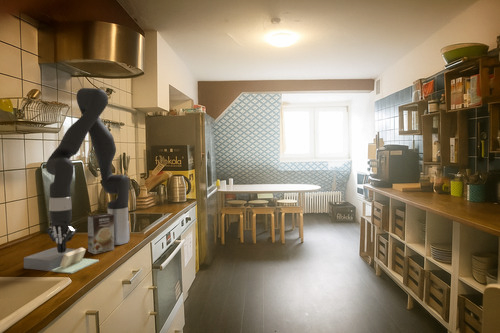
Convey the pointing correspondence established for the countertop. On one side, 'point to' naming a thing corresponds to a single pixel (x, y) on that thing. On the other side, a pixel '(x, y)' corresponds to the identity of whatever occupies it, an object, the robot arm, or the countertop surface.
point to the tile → (72, 257)
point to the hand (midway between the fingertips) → (61, 252)
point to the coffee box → (100, 233)
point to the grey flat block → (45, 259)
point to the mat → (76, 266)
